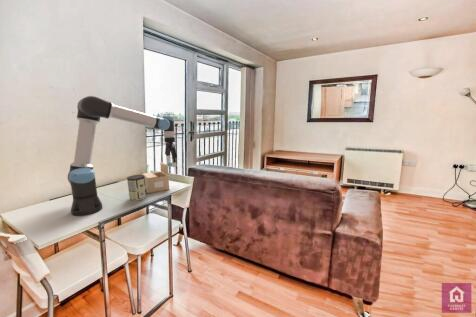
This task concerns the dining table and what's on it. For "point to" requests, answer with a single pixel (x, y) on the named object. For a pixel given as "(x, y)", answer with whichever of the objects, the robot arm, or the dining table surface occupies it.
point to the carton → (156, 182)
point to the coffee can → (136, 187)
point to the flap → (165, 167)
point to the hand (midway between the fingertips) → (171, 165)
